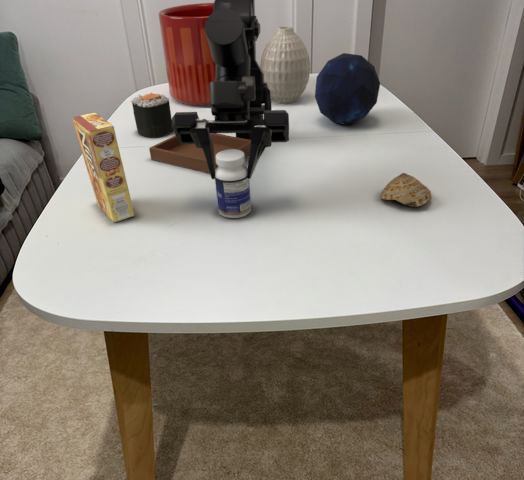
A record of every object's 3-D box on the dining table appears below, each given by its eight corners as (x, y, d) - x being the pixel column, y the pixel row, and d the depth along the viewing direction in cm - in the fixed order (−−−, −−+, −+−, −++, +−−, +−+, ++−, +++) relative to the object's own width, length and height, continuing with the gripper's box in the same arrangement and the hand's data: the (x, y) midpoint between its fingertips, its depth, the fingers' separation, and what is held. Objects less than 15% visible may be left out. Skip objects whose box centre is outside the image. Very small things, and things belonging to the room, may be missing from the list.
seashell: (408, 204, 83) (381, 170, 85) (395, 228, 88) (370, 195, 90) (446, 192, 85) (419, 160, 88) (431, 216, 90) (406, 184, 93)
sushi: (157, 123, 125) (151, 88, 120) (179, 130, 121) (174, 94, 116) (131, 133, 121) (123, 97, 116) (153, 140, 117) (147, 103, 111)
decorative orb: (349, 115, 108) (377, 42, 105) (293, 103, 116) (318, 35, 113) (373, 140, 120) (399, 76, 117) (321, 128, 128) (344, 68, 125)
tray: (191, 139, 116) (190, 128, 114) (255, 152, 108) (254, 140, 107) (151, 159, 108) (149, 147, 106) (217, 175, 100) (216, 162, 98)
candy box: (136, 216, 88) (115, 124, 78) (112, 223, 86) (88, 130, 76) (117, 199, 94) (95, 111, 84) (95, 205, 92) (70, 116, 82)
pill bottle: (218, 205, 90) (212, 148, 83) (250, 203, 90) (246, 146, 84) (218, 220, 86) (212, 162, 79) (252, 218, 86) (249, 159, 79)
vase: (310, 106, 131) (312, 31, 120) (261, 108, 131) (258, 33, 120) (308, 92, 141) (309, 21, 130) (261, 94, 141) (259, 23, 130)
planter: (243, 108, 132) (237, 16, 118) (159, 107, 135) (144, 18, 122) (259, 84, 149) (256, 1, 135) (184, 84, 152) (174, 3, 139)
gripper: (164, 56, 76) (161, 157, 75) (288, 52, 75) (286, 155, 74) (181, 97, 87) (178, 186, 86) (289, 94, 86) (288, 184, 85)
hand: (230, 178), depth 83 cm, fingers closed on pill bottle, 6 cm apart
